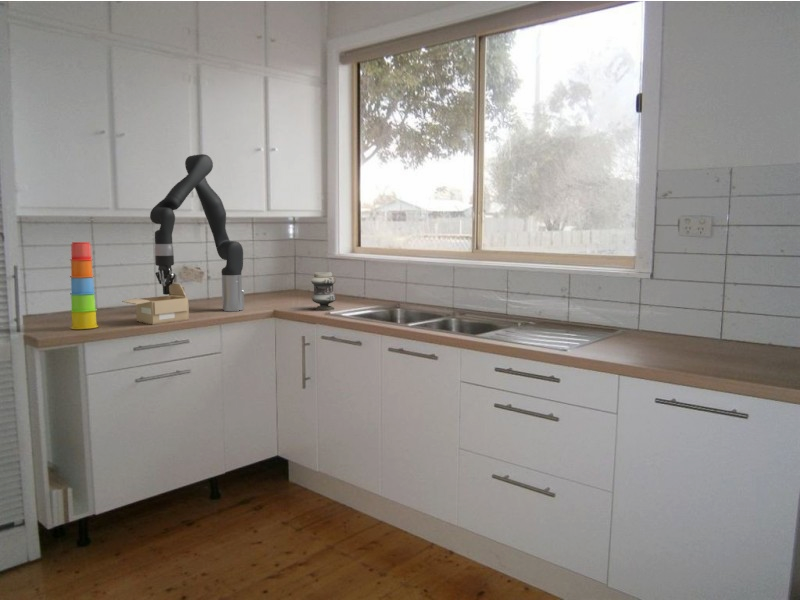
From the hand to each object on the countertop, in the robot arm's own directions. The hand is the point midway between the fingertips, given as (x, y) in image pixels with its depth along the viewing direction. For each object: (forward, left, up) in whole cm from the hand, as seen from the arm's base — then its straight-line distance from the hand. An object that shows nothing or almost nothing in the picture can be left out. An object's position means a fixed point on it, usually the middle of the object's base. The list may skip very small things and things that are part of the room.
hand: (166, 294), depth 277 cm
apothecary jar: (-69, +26, -12) cm, 74 cm away
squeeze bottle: (-15, -16, -12) cm, 25 cm away
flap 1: (+10, 0, -1) cm, 10 cm away
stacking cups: (+32, -6, -12) cm, 35 cm away
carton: (+2, 0, -11) cm, 11 cm away
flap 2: (-6, 0, -1) cm, 6 cm away
